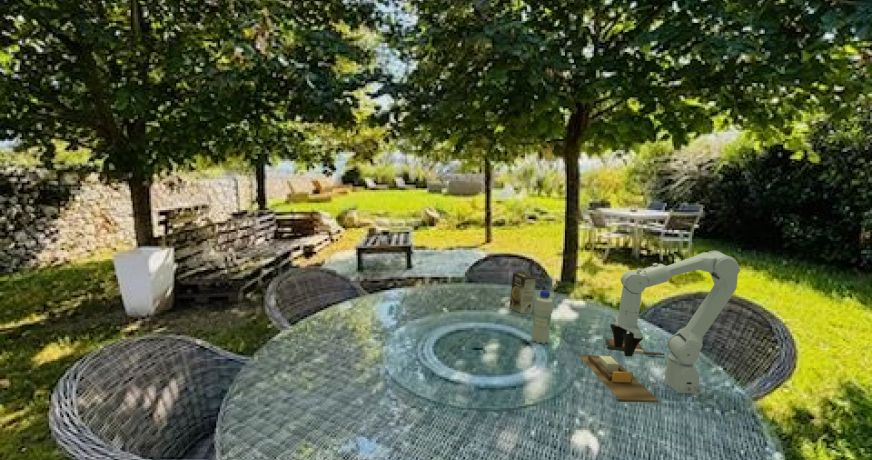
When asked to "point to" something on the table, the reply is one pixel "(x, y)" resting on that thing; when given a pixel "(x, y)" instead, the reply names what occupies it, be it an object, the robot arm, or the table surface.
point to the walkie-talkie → (637, 351)
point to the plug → (608, 363)
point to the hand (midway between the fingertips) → (623, 351)
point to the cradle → (619, 383)
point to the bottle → (542, 318)
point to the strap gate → (622, 376)
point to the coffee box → (522, 292)
